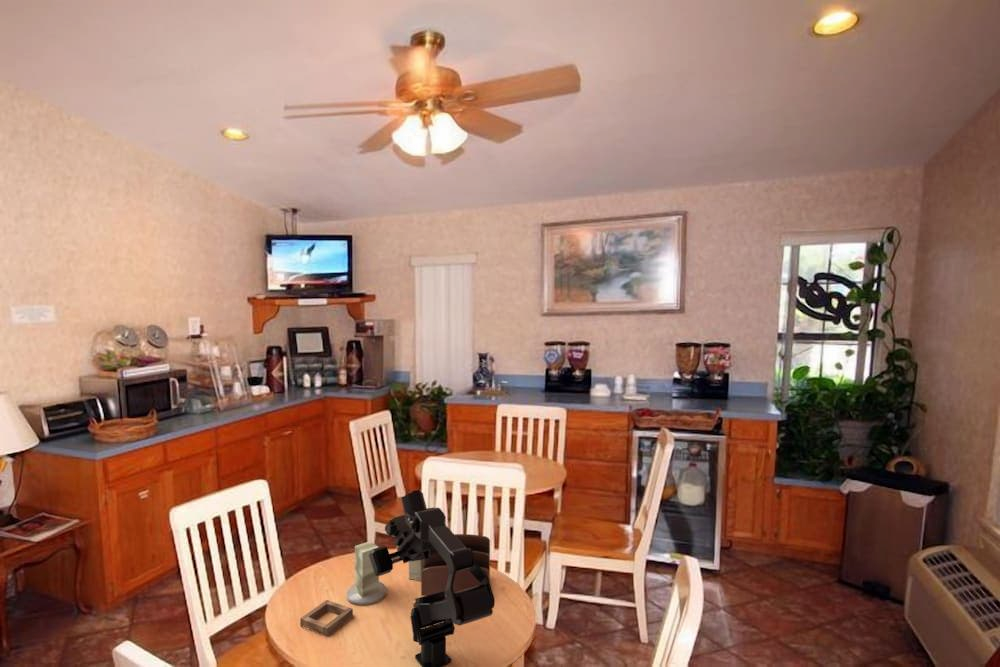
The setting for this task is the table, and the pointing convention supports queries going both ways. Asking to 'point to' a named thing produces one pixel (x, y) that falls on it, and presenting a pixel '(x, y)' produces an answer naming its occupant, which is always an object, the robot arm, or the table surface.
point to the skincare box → (416, 569)
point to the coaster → (370, 599)
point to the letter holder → (437, 571)
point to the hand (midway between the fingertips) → (395, 565)
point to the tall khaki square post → (365, 570)
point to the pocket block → (326, 629)
